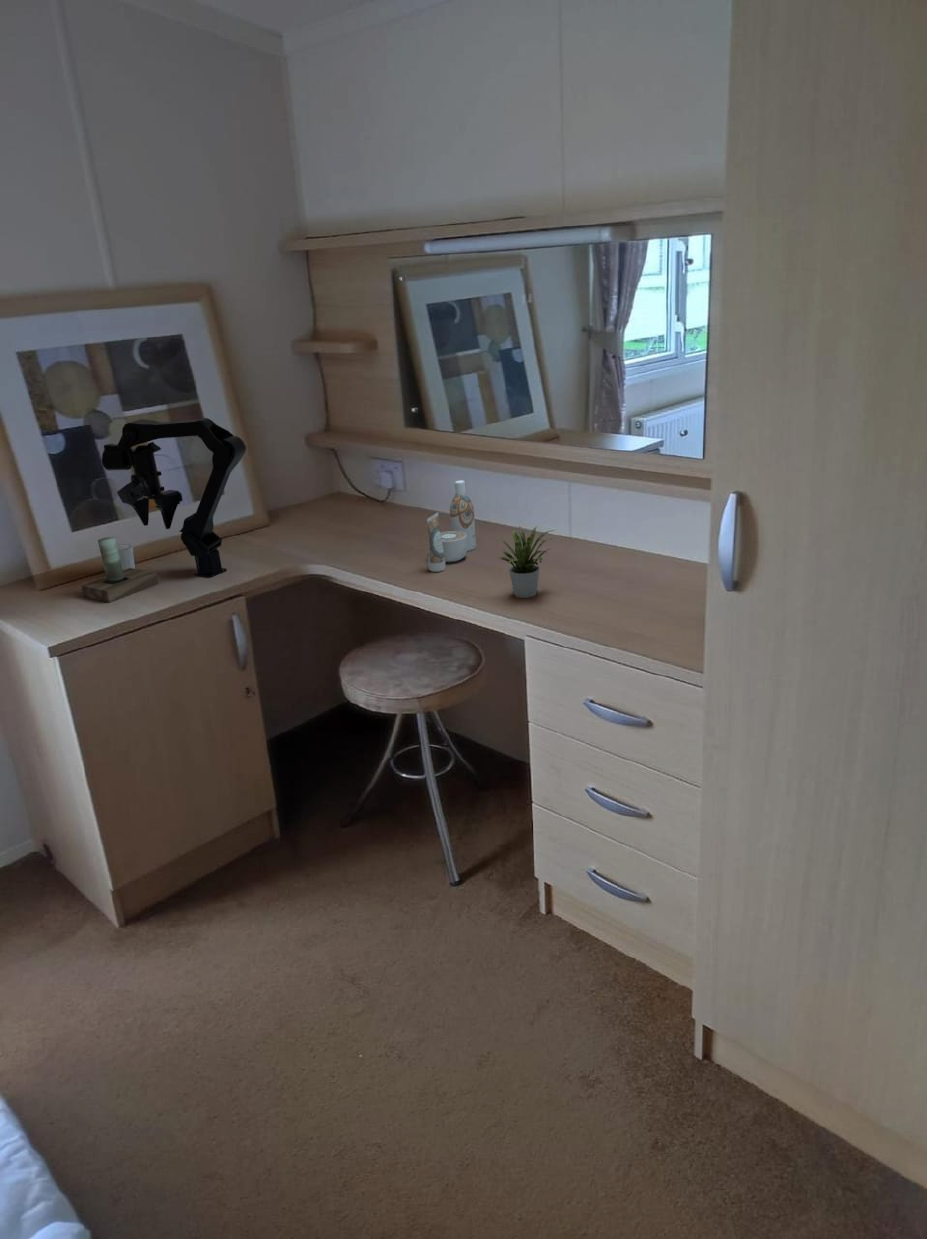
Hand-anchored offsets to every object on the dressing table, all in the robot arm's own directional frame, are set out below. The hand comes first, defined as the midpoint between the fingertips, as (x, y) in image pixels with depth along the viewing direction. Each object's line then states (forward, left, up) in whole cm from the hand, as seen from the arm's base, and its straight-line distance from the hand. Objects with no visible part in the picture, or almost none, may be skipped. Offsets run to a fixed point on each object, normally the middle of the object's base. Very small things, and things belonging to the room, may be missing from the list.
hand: (157, 527), depth 237 cm
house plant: (-100, -25, -13) cm, 104 cm away
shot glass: (+13, +4, -13) cm, 19 cm away
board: (0, +14, -13) cm, 19 cm away
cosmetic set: (-67, -40, -13) cm, 79 cm away
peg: (0, +15, -13) cm, 20 cm away
